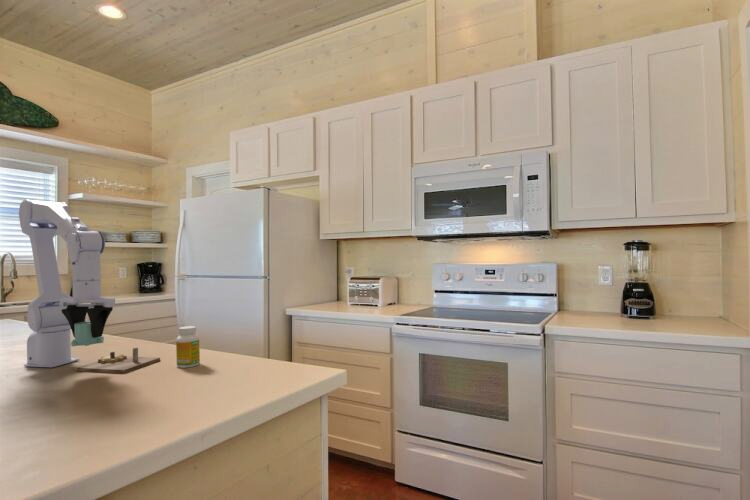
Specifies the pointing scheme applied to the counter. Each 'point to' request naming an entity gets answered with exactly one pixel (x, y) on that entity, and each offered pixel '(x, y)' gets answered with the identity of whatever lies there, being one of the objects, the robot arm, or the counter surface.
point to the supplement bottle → (187, 347)
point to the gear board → (118, 363)
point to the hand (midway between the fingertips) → (87, 336)
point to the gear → (84, 335)
